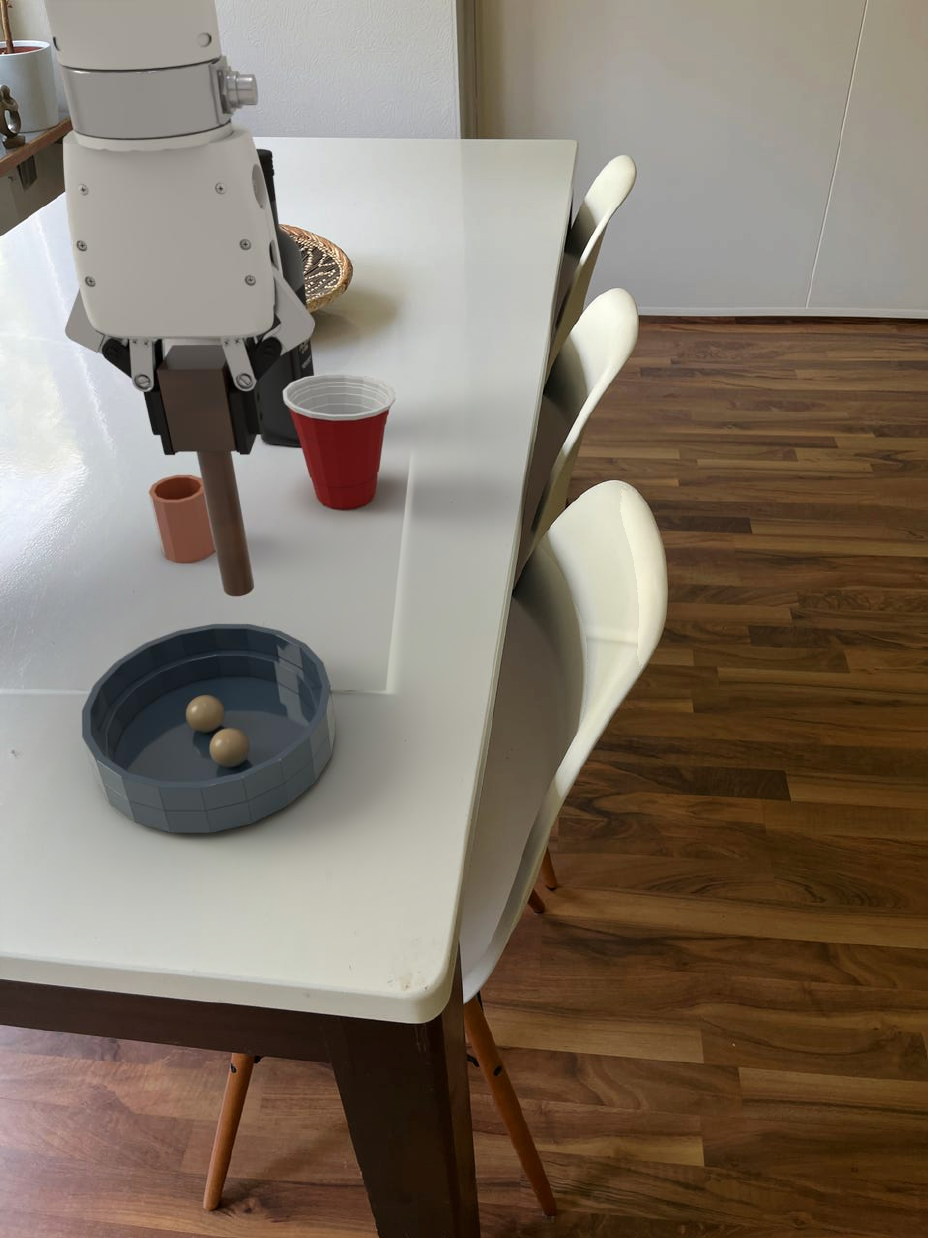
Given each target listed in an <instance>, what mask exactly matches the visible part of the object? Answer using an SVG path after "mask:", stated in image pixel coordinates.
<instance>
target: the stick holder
mask: <svg viewBox="0 0 928 1238" xmlns="http://www.w3.org/2000/svg"><path fill="white" fill-rule="evenodd" d="M148 496H149V501H150V504H151V510H152V514H153V518H154V522H155V523H154V524H155V526H156V530H157V536H158V541H159V544H160V548H161V552H162V554H163V556H164V558H165V559H167V560H168V561H170V562H173V563H177V564H191V563H192V564H193V563H197V562H200V561H203V560H205V559H207V558H209V557H211V556H212V555H213V554H214V553H216V548H215V543H214V538H213V533H212V528H211V523H210V518H209V513H208V508H207V503H206V498H205V493H204V488H203V482H202V477H200V476H196V475H193V474H175V475H171V476H167V477H163V478H161V479H159V480H158V481H156V482H154V483H153V484H152V485H151V487H150V489H149V490H148Z"/></svg>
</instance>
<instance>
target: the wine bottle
mask: <svg viewBox="0 0 928 1238" xmlns="http://www.w3.org/2000/svg"><path fill="white" fill-rule="evenodd" d="M256 150H257V154H258V157H259V161H260V164H261V168H262V172H263V176H264V180H265V184H266V188H267V193H268V197H269V202H270V207H271V211H272V216H273V221H274V227H275V232H276V238H277V243H278V248H279V254H280V260H281V266H282V272H283V278H284V279H285V280H286V282H287V283H288V284H289V286H290V287H291V289H292V290H293V291H294V293H295V294H296V295H297V297H298V298H299V300H300V301H301V302H302V304H303V305H304V306H305V308H306V309H307V310H308V300H307V293H306V282H305V271H304V263H303V262H304V261H303V257H302V253H301V250H300V247H299V245H298V243H297V242H296V241H295V239H294V238H293V237H292V236H290V235H289V233H287V232H286V231H285V230H284V229H282V228H281V226H280V224H279V223H280V221H279V214H278V213H279V212H278V206H277V197H276V189H275V188H276V187H275V181H274V176H275V174H276V173H275V169H274V164H273V163H274V160H273V158H274V155H273V151H271V150H269V149H267V148H266V149H265V148H256ZM280 324H281V322H280V320H279V318H278V317H277V316H276V314H275V313H274V320H273V325H272V326H271V328H270V329H269V330H268V331H270V330H273V329H275V328H276V327H277V326H278V325H280ZM268 331H266V332H268ZM266 332H264V333H263V334H260V335H257V336H256V338H257V341H259V340H260V339H261V338H262V337H263V335H264V334H265V333H266ZM313 359H314V358H313V350H312V341H311V337H310V338H309V339H307V340H306V341H304V342H302V343H301V344H299V345H298V346H296V347H295V348H293V349H291V350H290V351H287V352H286V353H284V354H282V355H281V356H280V357H279V358H278V360H277V361H276V362H275V363H274V364H273V365H272V366H271V367H270V368H269V369H268V371H267V372H266V373H265V374H264V375H263V376H262V377H261V378H260V379H259V384H260V391H261V398H262V405H263V412H264V419H265V427H264V432H263V434H262V435H259V436H260V439H261V441H262V442H263V443H266V444H271V445H272V444H273V445H282V446H293V447H301V443H300V440H299V436H298V433H297V430H296V429H295V425H294V421H293V419H292V416H291V412H290V411H289V408H288V406H287V405H286V404H285V402H284V399H283V390H284V389H285V388H286V387H287V386H288V385H289V384H290V383H292V382H294V381H297V380H299V379H302V378H304V377H309V376H315V370H314V361H313Z"/></svg>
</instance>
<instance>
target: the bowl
mask: <svg viewBox="0 0 928 1238" xmlns="http://www.w3.org/2000/svg"><path fill="white" fill-rule="evenodd" d="M202 695H209V696H213V697H215V698H217V699H218V700H219V701H220V702H221V703H222V705H223V707H224V711H225V716H224V720H223V722H222V724H221V725H220V727H219V728H217V729H216V730H215V731H212V732H209V733H200V732H197V731H195V730H194V729H192V728H191V727H190V726H189V724H188V722H187V719H186V710H187V707H188V705H189V703H190V702H191V701H192V700H193V699H195V698H196V697H199V696H202ZM335 721H336V720H335V713H334V704H333V694H332V687H331V683H330V679H329V675H328V673H327V669H326V666H325V663H324V661H323V660H321V658H320V657H319V656H318V655H317V654H316V653H315V652H314V651H313V650H312V649H311V648H310V647H309V645H308V644H307V643H305V642H303V641H301V640H299V639H297V638H296V637H293V636H292V635H290V634H288V633H285V632H283V631H282V630H278V629H274V628H269V627H266V626H265V627H264V626H259V625H256V624H251V623H210V624H206V625H200V626H196V627H195V626H194V627H190V628H184V629H179V630H175V631H173V632H171V633H168V634H165V635H162V636H160V637H158V638H154V639H153V640H150V641H147V642H145V643H143V644H142V645H140V646H138V647H137V648H135V649H134V650H132V651H131V652H128V653H127V654H126V655H124V656H123V657H121V658H119V659H118V660H116V661H115V662H114V663H113V664H112V665H111V666H110V667H109V668H108V669H107V670H106V671H105V672H104V674H102V676H101V677H99V679H98V680H97V681H96V682H95V683H94V685H92V688H91V690H90V693H89V694H88V697H87V698H86V701H85V703H84V705H83V707H82V709H81V737H82V741H83V743H84V747H85V749H86V753H87V755H88V756H87V757H88V759H89V761H90V765H91V767H92V770H93V773H94V776H95V779H96V782H97V784H98V785H99V787H100V790H102V793H103V794H104V796H105V798H106V799H107V801H108V803H109V805H110V806H112V807H113V808H115V809H116V810H117V811H119V812H120V813H122V814H123V815H124V816H126V817H127V818H129V819H130V820H131V821H133V822H134V823H136V824H140V825H142V826H147V827H150V828H154V829H157V830H161V831H165V832H167V833H197V834H198V833H204V834H205V833H216V832H219V831H224V830H229V829H233V828H237V827H241V826H246V825H250V824H253V823H256V822H257V821H259V820H261V819H263V818H265V817H268V816H270V815H271V814H273V813H276V812H278V811H280V810H281V809H284V808H285V807H287V806H289V805H290V804H291V803H293V802H294V801H295V800H296V799H297V798H298V797H300V795H302V794H303V793H304V792H305V791H306V790H308V789H309V788H310V787H311V786H312V785H314V783H316V781H317V780H318V779H319V777H320V775H321V773H322V771H323V770H324V768H325V767H326V765H327V763H328V761H329V760H330V758H331V757H332V754H333V748H334V741H335V734H336V722H335ZM227 728H234V729H237V730H239V731H241V732H243V733H244V734H245V735H246V737H247V738H248V741H249V745H250V750H249V754H248V756H247V758H246V759H245V761H244V762H243V763H241V764H240V765H238V766H236V767H231V768H227V767H222V766H220V765H218V764H217V763H216V762H215V761H214V760H213V759H212V757H211V755H210V742H211V740H212V738H213V737H214V735H215V734H216V733H218V732H219V731H221V730H223V729H227Z"/></svg>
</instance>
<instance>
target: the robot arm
mask: <svg viewBox="0 0 928 1238" xmlns="http://www.w3.org/2000/svg"><path fill="white" fill-rule="evenodd" d="M43 3H44V6H45V12H46V16H47V20H48V25H49V29H50V33H51V34H50V35H51V39H52V43H53V46H54V47H53V48H54V51H55V55H56V59H57V63H58V69H59V72H60V73H59V74H60V77H61V82H62V86H63V90H64V95H65V99H66V104H67V108H68V113H69V116H70V120H71V121H70V122H71V125H72V130H70V131H69V132H68V133H67V134H66V135H65V136H64V137H63V138H62V157H63V159H62V162H63V179H64V191H65V203H66V205H65V206H66V213H67V214H66V215H67V223H68V230H69V237H70V242H71V248H72V256H73V261H74V266H75V271H76V278H77V282H78V283H77V284H78V288H79V289H78V291H77V294H76V297H75V300H74V303H73V305H72V309H71V311H70V314H69V316H68V319H67V322H66V325H65V327H64V334H65V336H66V337H67V338H68V339H69V340H70V341H72V342H74V343H76V344H78V345H80V346H82V347H83V348H86V349H88V350H90V351H91V352H94V353H95V354H98V353H99V354H101V355H102V356H103V357H104V359H105V360H106V361H107V362H109V363H110V364H111V365H113V366H114V367H116V368H117V369H118V370H120V372H122V373H123V374H124V375H126V376H127V377H129V378H130V380H131V382H132V385H133V387H134V388H135V389H136V390H138V391H139V392H143V397H144V401H145V407H146V410H147V415H148V419H149V425H150V429H151V433H152V434H153V436H159V437H160V442H161V447H162V449H163V454H164V456H176V454H178V453H179V452H174V449H173V445H172V440H171V435H170V430H169V426H168V421H167V416H166V412H165V407H164V402H163V397H162V393H161V388H160V383H159V379H158V374H157V370H158V368H159V366H160V365H161V363H162V362H163V360H164V358H165V357H166V341H165V340H213V339H214V340H217V339H218V340H220V343H221V344H220V345H222V347H223V350H224V353H225V356H226V359H227V362H228V365H229V368H230V371H231V374H232V376H231V383H232V386H231V388H230V390H229V392H228V401H229V406H230V412H231V418H232V424H233V430H234V436H235V442H236V448H237V449H236V451H235V452H236V453H238V454H239V455H240V456H246V455H247V456H249V455H250V454H251V452H252V449H253V446H254V444H255V441H256V439H257V436H260V435H262V434H263V432H264V427H265V419H264V412H263V405H262V398H261V391H260V384H259V379H260V378H261V377H262V376H263V375H264V374H265V373H266V372H267V371H268V369H269V368H270V367H271V366H272V365H273V364H274V363H275V362H276V361H277V360H278V358H279V357H280V356H281V355H282V354H284V353H286V352H287V351H290V350H291V349H293V348H295V347H296V346H298V345H299V344H301V343H302V342H304V341H306V340H307V339H309V338H310V339H311V337H312V335H313V332H314V329H315V325H316V321H315V319H314V317H313V316H312V314H311V313H310V312H309V310H308V308H307V309H306V308H305V306H304V305H303V304H302V302H301V301H300V300H299V298H298V297H297V295H296V294H295V293H294V291H293V290H292V289H291V287H290V286H289V284H288V283H287V282H286V280H285V279H284V278H283V272H282V266H281V260H280V254H279V248H278V243H277V238H276V232H275V227H274V221H273V216H272V211H271V207H270V202H269V197H268V193H267V188H266V184H265V180H264V176H263V172H262V168H261V164H260V161H259V157H258V154H257V150H256V149H257V148H256V144H255V140H254V138H253V135H252V132H251V130H250V127H249V126H248V125H246V124H244V123H236V122H235V123H234V122H233V121H232V117H233V116H234V115H235V112H236V111H237V110H239V109H243V108H244V107H243V106H257V105H258V103H259V90H258V84H257V79H256V76H255V74H253V73H245V74H244V73H240V72H239V70H233V71H232V66H231V65H228V60H227V56H226V55H223V52H222V46H221V45H222V44H221V39H220V31H219V25H218V24H219V22H218V15H217V8H216V0H43ZM274 313H275V314H276V316H277V317H278V318H279V320H280V322H281V324H280V325H278V326H277V327H276V328H275V329H273V330H270V331H268V330H269V329H270V328H271V326H272V325H273V320H274ZM266 331H268V332H266ZM264 332H266V333H265V334H264V335H263V337H262V338H261V339H260V340H259V341H257V338H256V336H257V335H260V334H263V333H264Z"/></svg>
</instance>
